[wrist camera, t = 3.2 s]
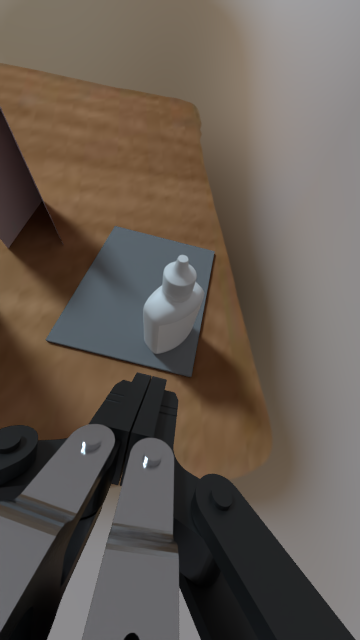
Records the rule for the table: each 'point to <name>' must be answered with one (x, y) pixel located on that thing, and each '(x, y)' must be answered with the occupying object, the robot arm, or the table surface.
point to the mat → (129, 301)
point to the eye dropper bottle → (172, 307)
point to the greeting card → (14, 187)
